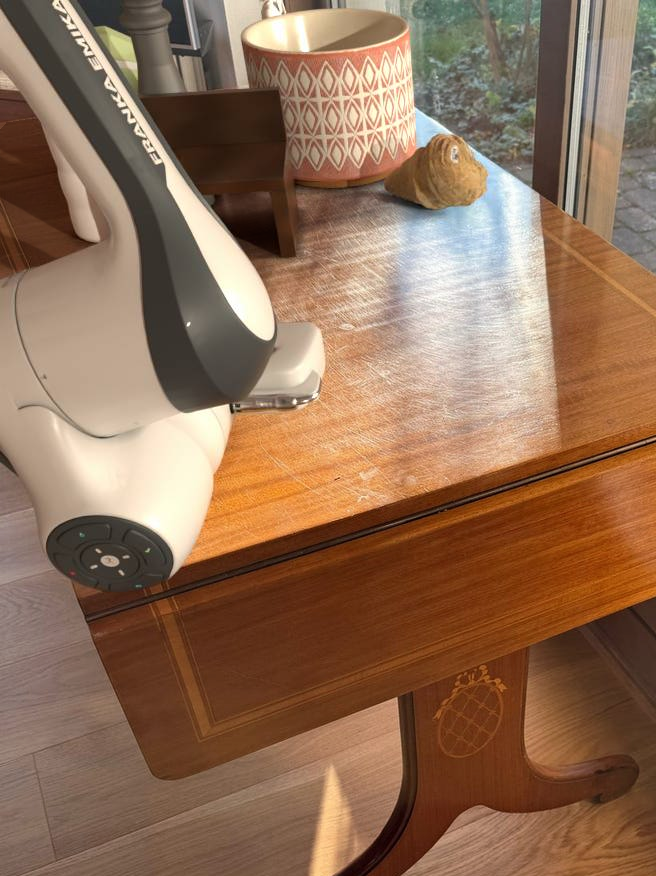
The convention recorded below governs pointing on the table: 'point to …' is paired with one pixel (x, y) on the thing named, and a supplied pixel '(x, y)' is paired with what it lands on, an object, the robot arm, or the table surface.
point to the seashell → (440, 175)
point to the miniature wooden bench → (233, 146)
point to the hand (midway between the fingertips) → (202, 315)
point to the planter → (338, 91)
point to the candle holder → (153, 49)
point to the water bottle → (79, 200)
